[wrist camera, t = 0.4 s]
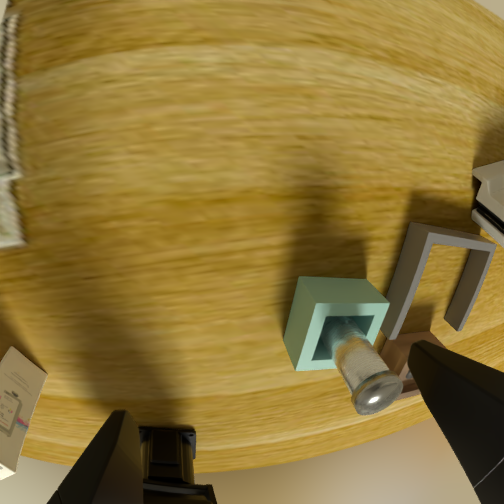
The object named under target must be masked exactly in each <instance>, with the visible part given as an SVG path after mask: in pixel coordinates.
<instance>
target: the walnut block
mask: <svg viewBox="0 0 504 504" xmlns="http://www.w3.org/2000/svg"><path fill="white" fill-rule="evenodd" d="M421 339H423V340H426V341H429V342H431V343H433V344H436V345H438V346H441V347H443V348H445V349H446V347H445V346H444V345H443V344H442V343H441V342H440V341H439V340H438V339H437V338H436V337H435V336H434V335H433V334H432V333H431V332H430V331H423V332H415V333H406V334H398V335H397V337H396V339H394V340H388V338H387V340H386V342H385V344H384V347H383V349H382V351H381V353H380V355H379V356H380V357H381V358H382V360H383V361H384V363H385V364H386V366H387V367H388V368H389V370H391V371H394V372H395V373H396V374H397V375H398V377H399V378H400V380H401V381H402V383H403V389H402V392H401V394H400V395H399V396H398V398H397V399H396V400H400V399H404V398H408V397H412V396H416V395H419V394H421V393H420V391H419V389H418V387H417V385H416V383H415V380H414V378H413V376H412V374H411V372H410V370H409V368H408V365H407V359H408V355H409V351H410V347H411V344H412V343H414V342H416V341H418V340H421ZM396 400H395V401H396Z"/></svg>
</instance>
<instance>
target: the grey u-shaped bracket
mask: <svg viewBox="0 0 504 504" xmlns="http://www.w3.org/2000/svg"><path fill="white" fill-rule="evenodd" d="M433 243H435V244H442V245H449V246H456V247H463V248H470V249H471V252H470V255H469V258H468V261H467V264H466V266H465V269H464V272H463V275H462V277H461V280H460V282H459V285H458V287H457V290H456V292H455V295H454V297H453V299H452V302H451V304H450V306H449V309H448V311H447V313H446V315H445V318H444V319H445V320H446V321H447V322H448V323H449V324H450V325H451V326H452V327H453V328H454V329H455V330H456V331H461V330H462V328H463V326H464V324H465V322H466V320H467V318H468V316H469V314H470V312H471V310H472V307H473V305H474V303H475V301H476V298H477V296H478V294H479V291H480V289H481V286H482V284H483V281H484V279H485V276H486V274H487V271H488V268H489V266H490V263H491V260H492V257H493V254H494V252H495V249H496V246H497V245H496V244H495V243H493V242H491V241H489V240H488V239H486V238H484V237H482V236H480V235H476V234H471V233H467V232H462V231H457V230H452V229H447V228H442V227H437V226H431V225H426V224H421V223H415V222H410V224H409V228H408V231H407V235H406V238H405V241H404V245H403V248H402V251H401V255H400V258H399V261H398V264H397V267H396V270H395V273H394V276H393V279H392V282H391V285H390V287H389V290H388V293H387V296H386V299H387V301H388V302H389V303H390V304H389V307H388V310H387V312H386V315H385V317H384V320H383V322H382V325H381V327H380V330H381V331H382V332H383V333H384V335H385V336H386V337H387V338H388V340H394V339H396V337H397V335H398V333H399V331H400V329H401V326H402V324H403V322H404V319H405V317H406V315H407V312H408V310H409V307H410V305H411V302H412V300H413V297H414V295H415V292H416V290H417V287H418V284H419V282H420V279H421V276H422V274H423V271H424V268H425V265H426V262H427V259H428V256H429V253H430V250H431V247H432V244H433Z"/></svg>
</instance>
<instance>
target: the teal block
mask: <svg viewBox="0 0 504 504" xmlns="http://www.w3.org/2000/svg"><path fill="white" fill-rule="evenodd" d="M389 304H390V303H389V302H388V301H387V299H386V298H385V297H384V296H383V295H382V294H381V293H380V292H379V291H378V290H377V289H376V288H375V287H374V286H373V285H372V284H371V283H370V282H369V281H368V280H367V279H352V278H329V277H308V276H299V278H298V282H297V286H296V290H295V295H294V299H293V303H292V307H291V311H290V315H289V319H288V323H287V327H286V331H285V334H284V338H283V341H284V344H285V346H286V349H287V351H288V354H289V356H290V359H291V361H292V364H293V366H294V369H295V371H306V370H320V369H333V368H337V367H336V365H335V363H334V361H333V359H332V358H331V356H330V354H329V352H328V350H327V348H326V347H325V345H324V343H323V341H322V339H321V338H320V334H321V331H322V327H323V324H324V321H325V318H326V316H351V317H352V318H353V320H354V321H355V322H356V324H357V325H358V326H359V328H360V329H361V331H362V332H363V333H364V335H365V336H366V337H367V339H368V340H369V342H370V343H371V344H372V346H373V343H374V341H375V339H376V337H377V334H378V332H379V329H380V327H381V325H382V322H383V320H384V317H385V315H386V312H387V310H388V307H389Z"/></svg>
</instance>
